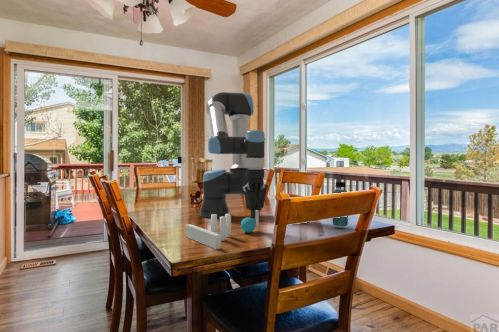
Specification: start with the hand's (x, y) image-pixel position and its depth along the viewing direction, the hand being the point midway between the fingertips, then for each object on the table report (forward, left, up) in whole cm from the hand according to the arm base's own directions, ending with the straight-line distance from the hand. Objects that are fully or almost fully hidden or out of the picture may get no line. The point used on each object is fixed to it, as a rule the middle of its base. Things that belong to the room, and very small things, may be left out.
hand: (255, 226), depth 124 cm
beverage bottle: (+1, +37, -2) cm, 37 cm away
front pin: (+7, -12, -2) cm, 14 cm away
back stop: (+12, -22, -2) cm, 25 cm away
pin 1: (+6, -17, -2) cm, 19 cm away
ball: (+2, -3, +1) cm, 4 cm away
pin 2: (+11, -14, -2) cm, 18 cm away
